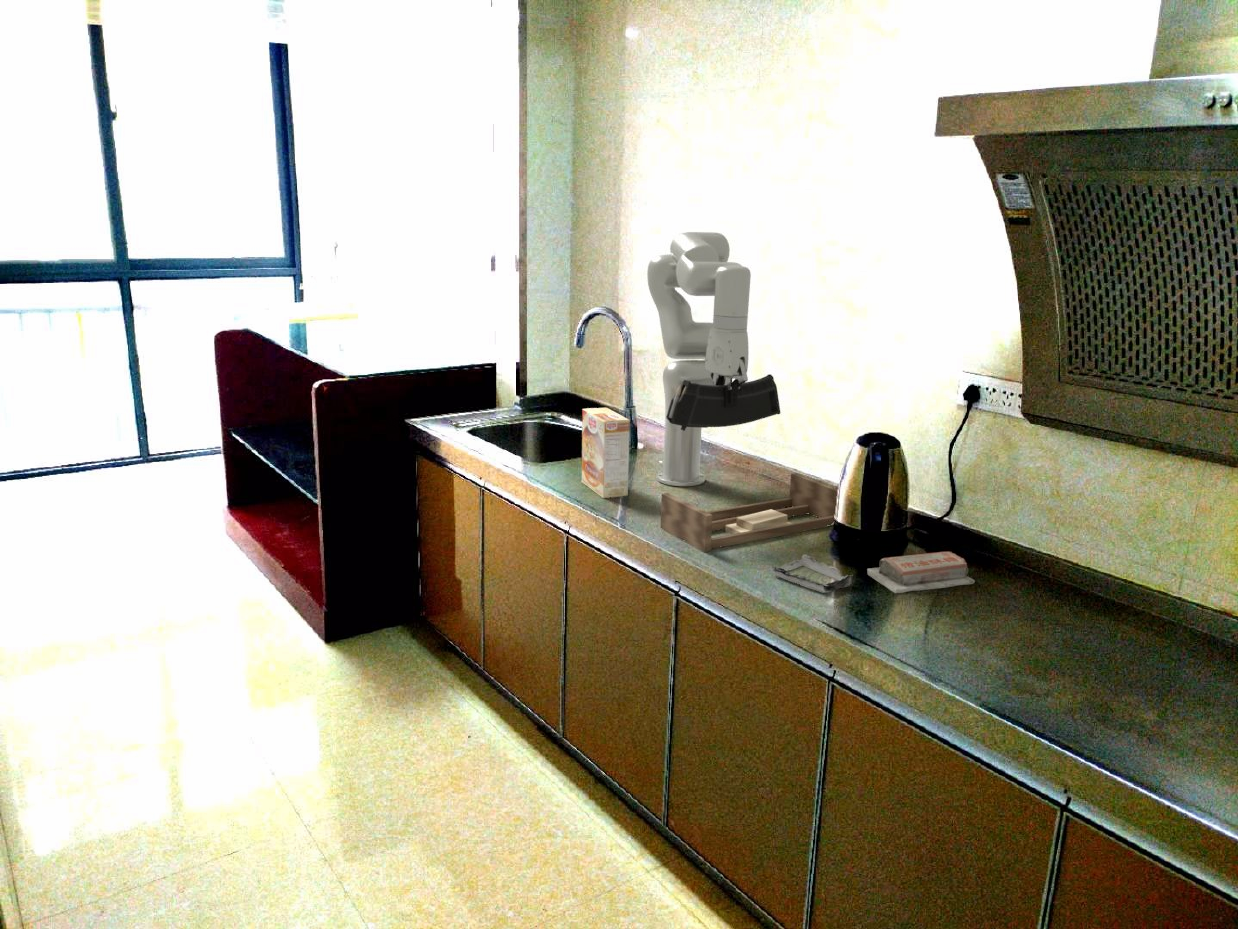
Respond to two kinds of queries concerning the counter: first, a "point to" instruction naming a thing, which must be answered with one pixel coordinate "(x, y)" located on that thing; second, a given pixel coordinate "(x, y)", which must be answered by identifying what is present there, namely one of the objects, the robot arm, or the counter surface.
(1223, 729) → the counter surface
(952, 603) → the counter surface
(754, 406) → the magazine
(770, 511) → the offcut stack
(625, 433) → the coffeecake box
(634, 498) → the counter surface
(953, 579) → the packaged product
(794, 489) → the walnut rack
